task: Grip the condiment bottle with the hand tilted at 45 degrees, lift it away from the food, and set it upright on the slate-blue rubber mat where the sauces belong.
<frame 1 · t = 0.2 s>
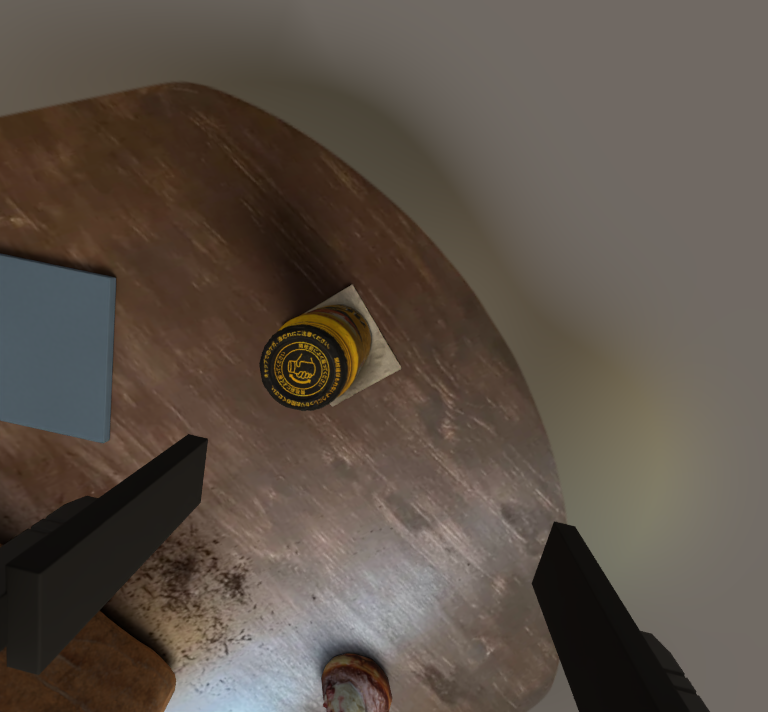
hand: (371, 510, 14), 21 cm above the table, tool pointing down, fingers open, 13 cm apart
pastry: (357, 678, 42), on the table
condiment: (342, 346, 34), on the table
bread: (74, 623, 43), on the table
sauce mat: (42, 347, 36), on the table
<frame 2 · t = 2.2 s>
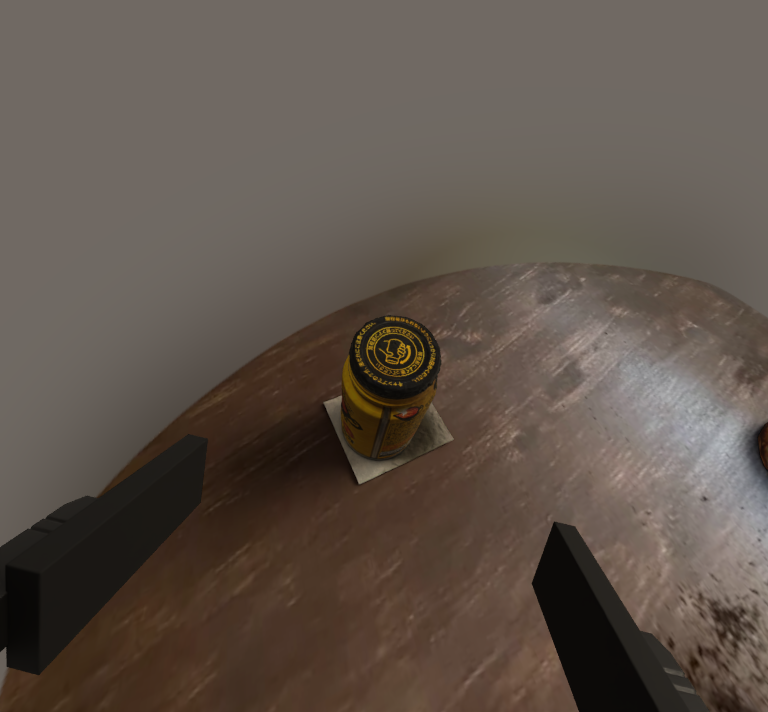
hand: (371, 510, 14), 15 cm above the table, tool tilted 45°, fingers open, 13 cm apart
condiment: (387, 422, 32), on the table
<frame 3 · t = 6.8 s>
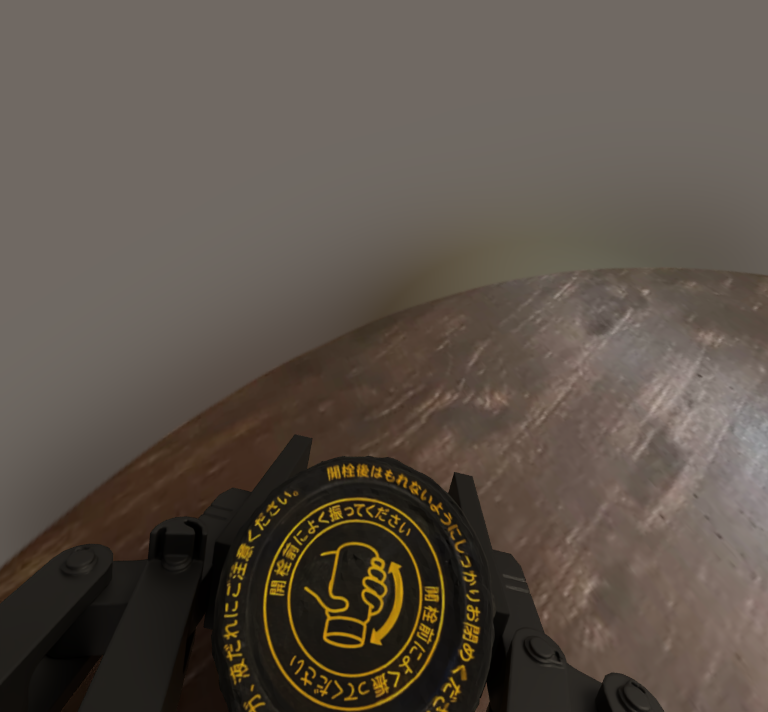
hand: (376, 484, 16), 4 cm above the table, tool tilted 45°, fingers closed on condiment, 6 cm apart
condiment: (369, 587, 17), on the table, touching gripper
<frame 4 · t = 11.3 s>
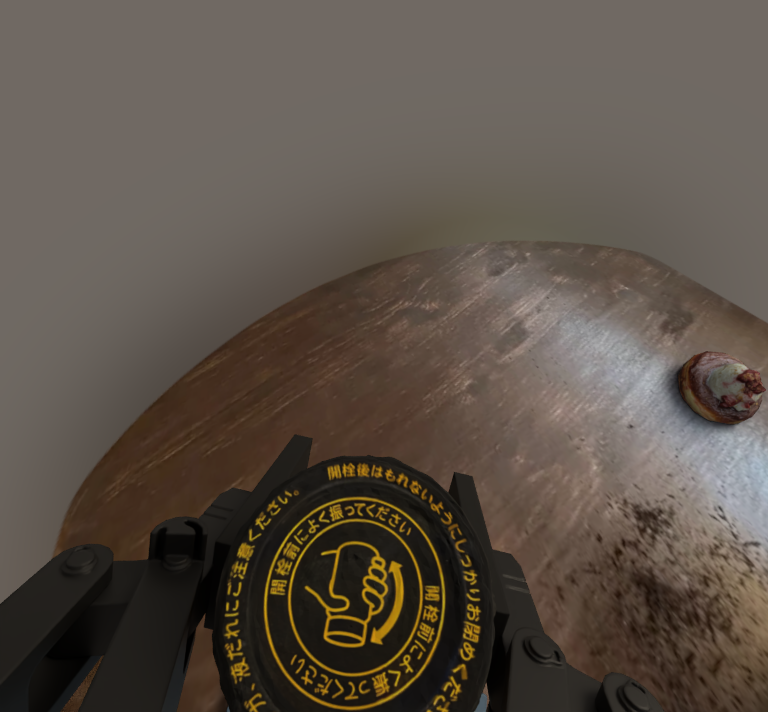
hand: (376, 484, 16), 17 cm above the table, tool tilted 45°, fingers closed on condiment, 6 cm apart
pastry: (709, 391, 40), on the table
condiment: (369, 587, 17), point 13 cm above the table, touching gripper
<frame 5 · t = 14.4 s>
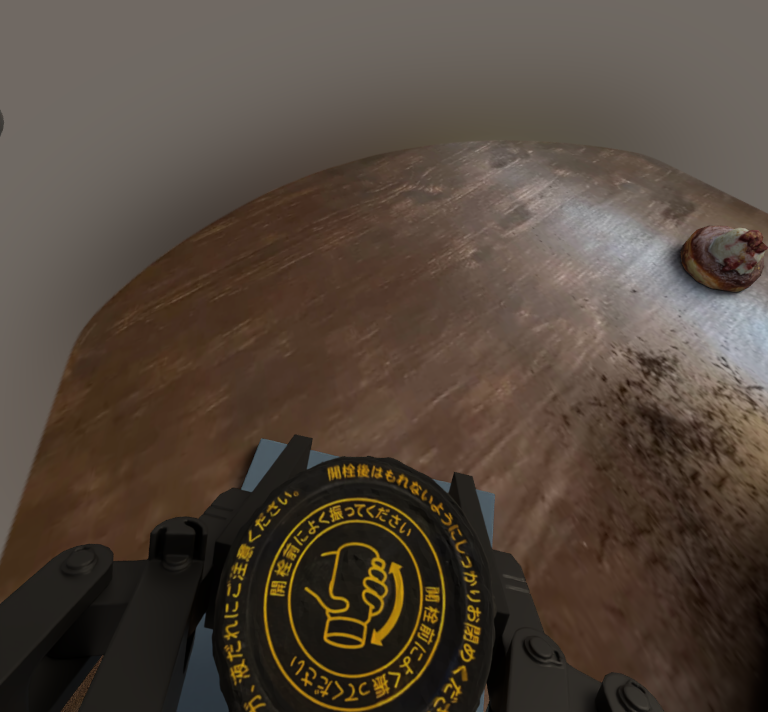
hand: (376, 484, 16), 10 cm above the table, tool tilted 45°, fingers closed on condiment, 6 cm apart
pastry: (711, 266, 41), on the table
condiment: (369, 587, 17), point 6 cm above the table, touching gripper
sauce mat: (350, 585, 23), on the table
when the fingers open (4 cm above the table, at t = 16.3 s): condiment stays where it is, resting on sauce mat.
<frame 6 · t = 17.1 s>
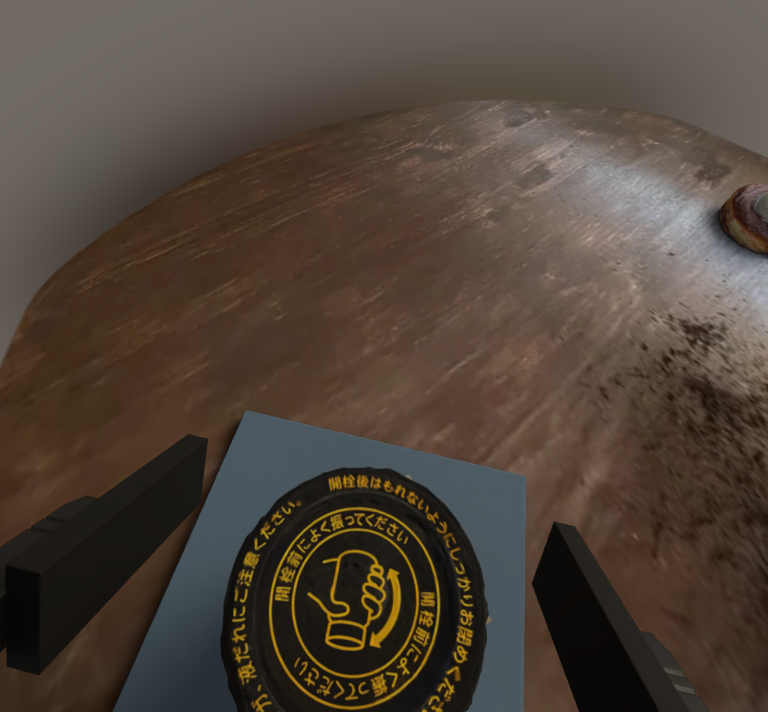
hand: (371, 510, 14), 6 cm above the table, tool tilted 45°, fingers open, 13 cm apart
pastry: (754, 230, 37), on the table
condiment: (369, 589, 18), point 1 cm above the table, touching sauce mat
sauce mat: (352, 586, 18), on the table
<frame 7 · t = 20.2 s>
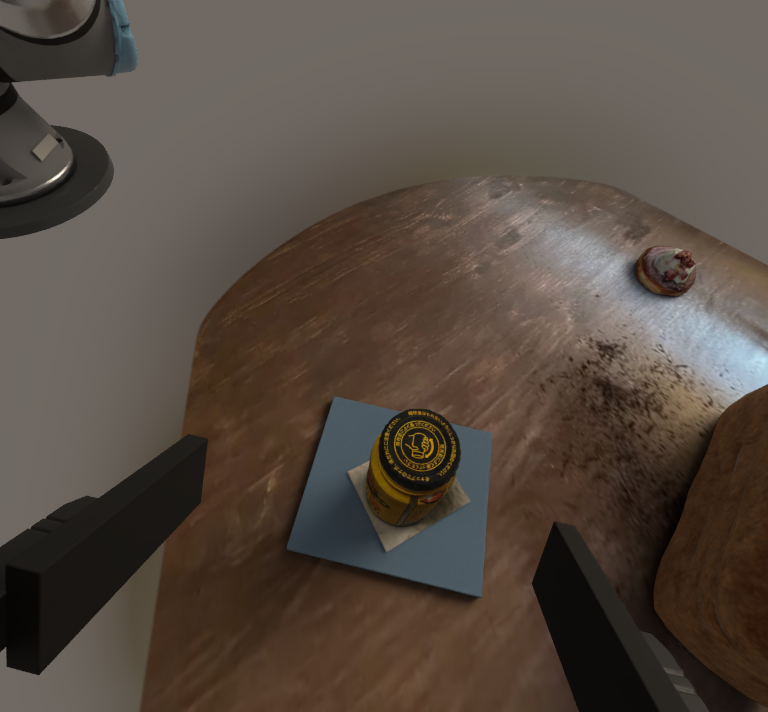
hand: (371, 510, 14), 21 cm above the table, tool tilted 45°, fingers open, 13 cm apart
pastry: (659, 277, 53), on the table
condiment: (407, 487, 34), point 1 cm above the table, touching sauce mat
bread: (735, 527, 36), on the table
sauce mat: (398, 487, 35), on the table
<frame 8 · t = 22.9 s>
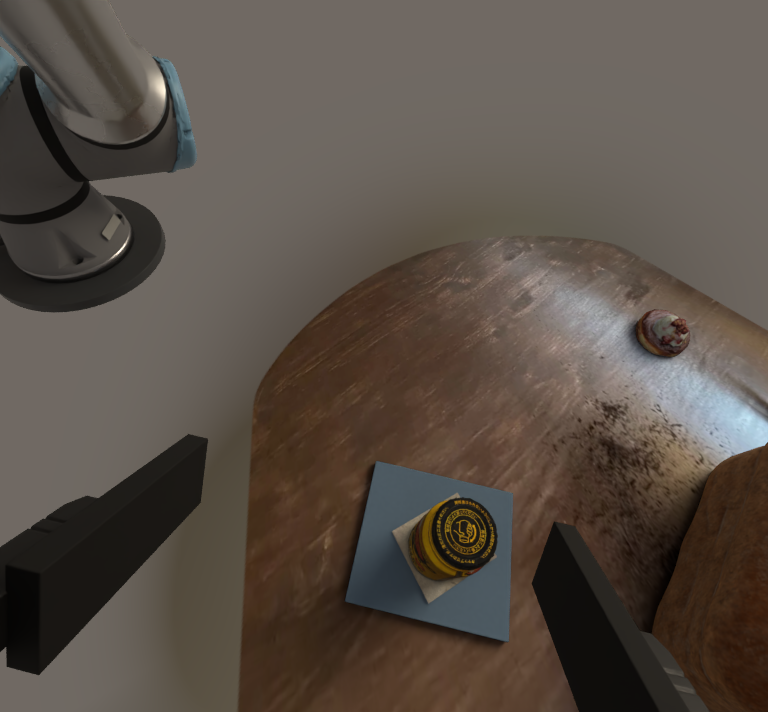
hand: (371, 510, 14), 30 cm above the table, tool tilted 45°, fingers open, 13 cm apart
pastry: (657, 337, 59), on the table
condiment: (443, 544, 41), point 1 cm above the table, touching sauce mat
bread: (721, 576, 42), on the table
sauce mat: (434, 543, 41), on the table
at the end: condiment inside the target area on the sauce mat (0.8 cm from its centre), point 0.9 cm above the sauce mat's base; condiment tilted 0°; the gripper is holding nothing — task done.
